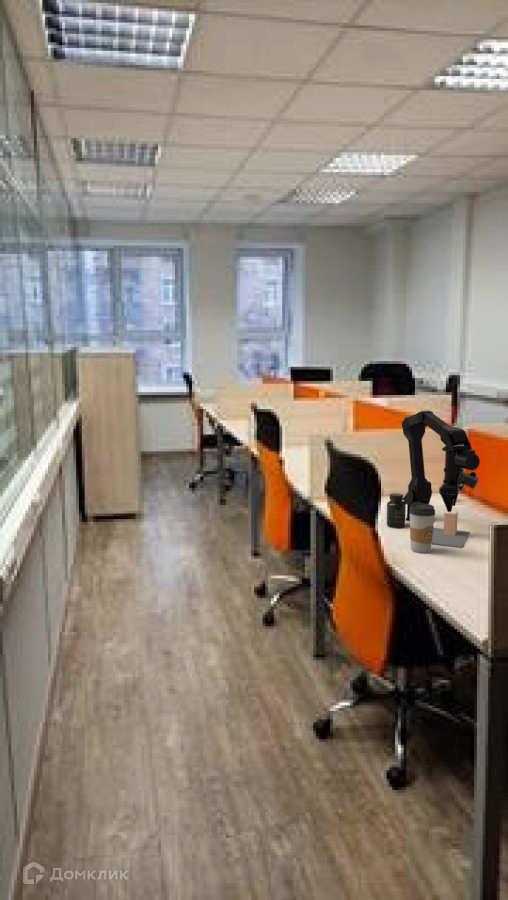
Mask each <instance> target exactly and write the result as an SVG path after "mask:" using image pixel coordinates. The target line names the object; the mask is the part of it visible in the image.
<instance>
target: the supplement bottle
mask: <svg viewBox="0 0 508 900" xmlns="http://www.w3.org/2000/svg"><path fill="white" fill-rule="evenodd" d="M403 497H404V494H403V493H396V492H395V493H390V494H389V501H388V502H387V503H386V526H387V527H389V528H391V529H401V528H405V526H406V515H407V510H406V509H407V504H405V502H404V501H403Z"/></svg>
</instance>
